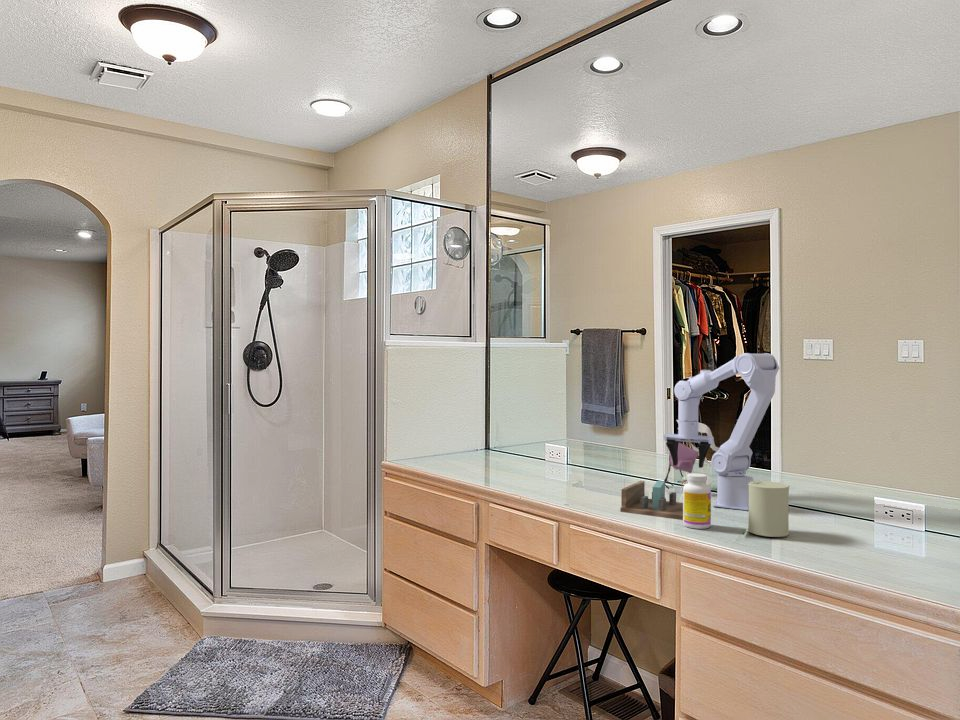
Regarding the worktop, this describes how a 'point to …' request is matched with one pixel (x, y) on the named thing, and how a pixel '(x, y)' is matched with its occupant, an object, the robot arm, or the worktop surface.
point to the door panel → (658, 493)
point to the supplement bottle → (697, 502)
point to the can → (768, 508)
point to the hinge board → (649, 503)
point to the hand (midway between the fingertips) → (688, 466)
